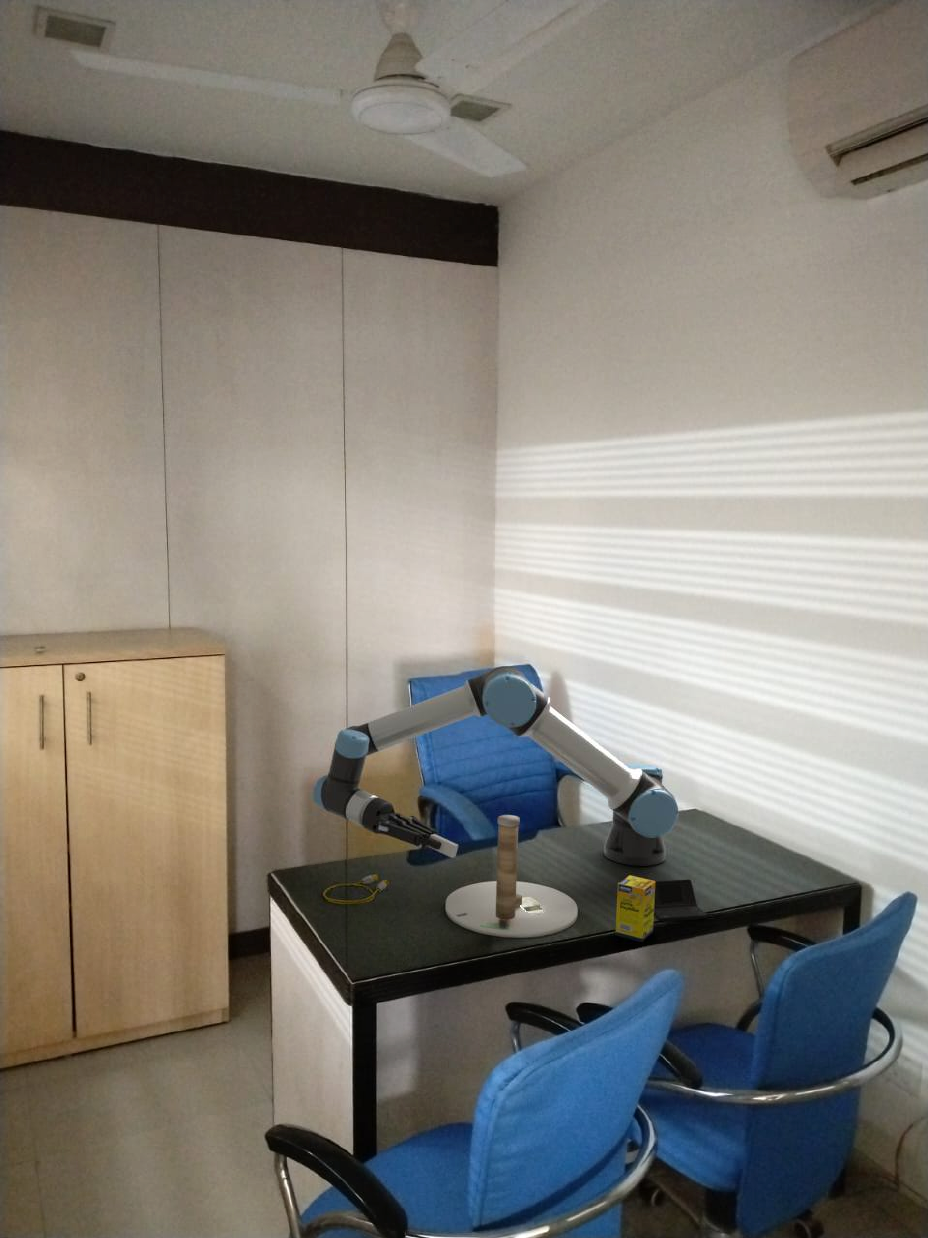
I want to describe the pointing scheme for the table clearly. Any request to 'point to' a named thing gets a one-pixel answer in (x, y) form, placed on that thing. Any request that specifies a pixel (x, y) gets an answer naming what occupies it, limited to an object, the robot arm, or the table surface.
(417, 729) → the robot arm
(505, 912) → the lever
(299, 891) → the table surface
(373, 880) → the extension cord
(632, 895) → the supplement box
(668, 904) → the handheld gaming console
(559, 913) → the dial plate
